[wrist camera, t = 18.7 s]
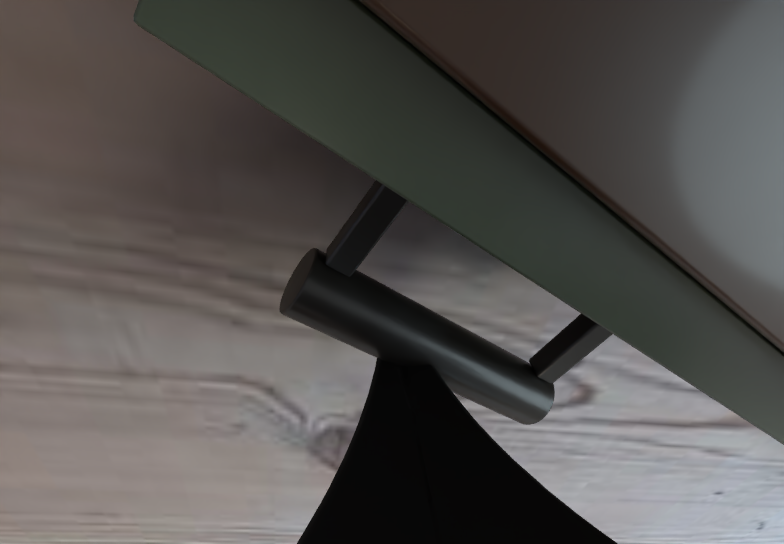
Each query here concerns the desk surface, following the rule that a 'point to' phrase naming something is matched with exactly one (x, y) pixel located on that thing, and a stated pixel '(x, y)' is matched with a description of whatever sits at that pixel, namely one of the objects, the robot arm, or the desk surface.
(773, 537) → the desk surface
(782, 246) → the cabinet
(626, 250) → the drawer
